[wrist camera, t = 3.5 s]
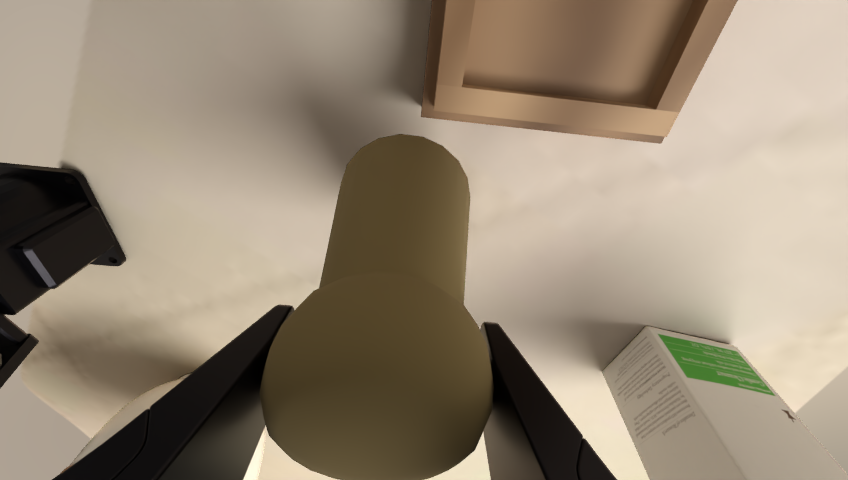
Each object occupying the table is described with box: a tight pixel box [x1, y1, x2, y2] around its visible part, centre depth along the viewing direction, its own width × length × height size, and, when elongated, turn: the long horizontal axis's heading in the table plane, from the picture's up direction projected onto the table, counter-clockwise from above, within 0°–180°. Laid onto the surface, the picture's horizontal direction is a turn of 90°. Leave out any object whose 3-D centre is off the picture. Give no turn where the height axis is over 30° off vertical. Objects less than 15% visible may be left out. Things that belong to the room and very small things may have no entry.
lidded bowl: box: [60, 373, 265, 480], centre depth 26 cm, size 13×13×11 cm
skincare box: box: [602, 326, 848, 480], centre depth 21 cm, size 8×7×16 cm
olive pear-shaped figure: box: [259, 134, 494, 480], centre depth 11 cm, size 6×6×11 cm
